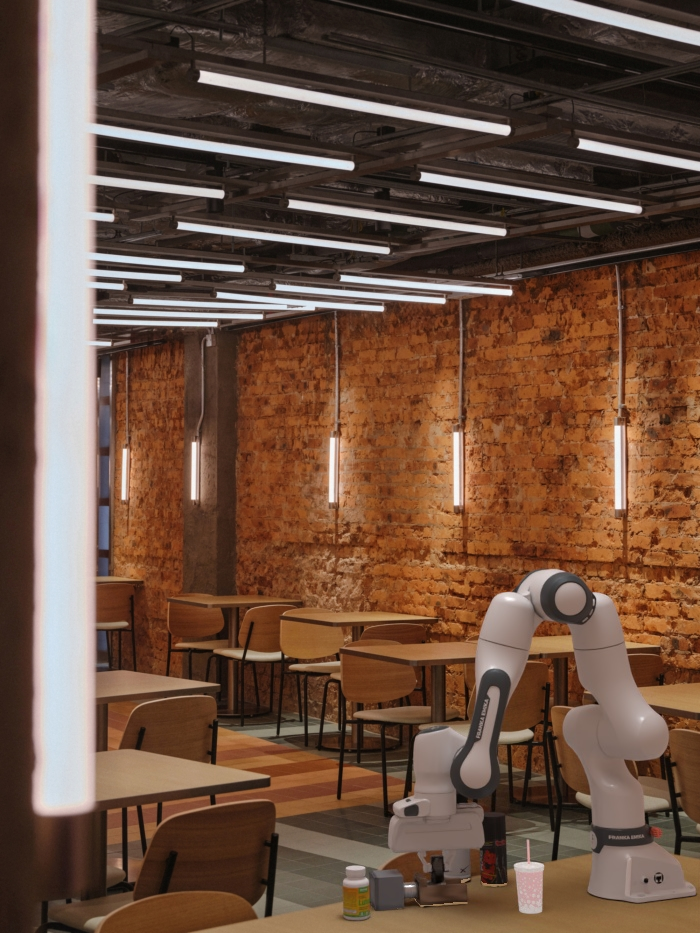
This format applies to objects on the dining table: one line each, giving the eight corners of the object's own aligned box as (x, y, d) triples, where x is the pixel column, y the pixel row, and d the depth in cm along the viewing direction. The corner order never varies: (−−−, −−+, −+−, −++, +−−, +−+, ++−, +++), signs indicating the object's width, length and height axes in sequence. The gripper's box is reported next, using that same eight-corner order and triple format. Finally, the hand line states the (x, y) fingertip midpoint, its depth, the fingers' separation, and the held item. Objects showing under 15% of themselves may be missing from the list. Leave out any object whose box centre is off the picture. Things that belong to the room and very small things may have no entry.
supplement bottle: (361, 922, 239) (359, 871, 240) (338, 919, 242) (337, 869, 243) (375, 915, 244) (373, 866, 245) (352, 912, 247) (351, 863, 248)
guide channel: (460, 896, 257) (459, 869, 257) (467, 904, 251) (466, 876, 251) (414, 899, 255) (413, 872, 256) (420, 907, 249) (419, 879, 250)
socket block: (397, 900, 255) (397, 869, 255) (404, 908, 248) (403, 876, 249) (369, 902, 254) (369, 871, 254) (375, 910, 247) (374, 878, 248)
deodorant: (513, 884, 266) (510, 814, 268) (492, 888, 263) (490, 818, 264) (495, 879, 271) (493, 811, 273) (475, 883, 268) (472, 814, 269)
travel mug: (471, 884, 267) (468, 791, 269) (441, 883, 268) (438, 791, 270) (473, 877, 273) (470, 787, 275) (444, 877, 275) (442, 787, 277)
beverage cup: (550, 913, 242) (547, 841, 244) (520, 915, 241) (518, 843, 243) (540, 905, 248) (537, 835, 250) (511, 907, 247) (509, 837, 249)
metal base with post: (443, 894, 255) (442, 854, 256) (446, 897, 252) (445, 857, 252) (377, 898, 252) (376, 858, 253) (380, 902, 249) (379, 861, 250)
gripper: (479, 799, 260) (481, 865, 258) (385, 804, 256) (387, 871, 255) (487, 804, 253) (489, 872, 252) (391, 809, 250) (393, 878, 249)
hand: (437, 872), depth 253 cm, fingers closed on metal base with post, 3 cm apart
